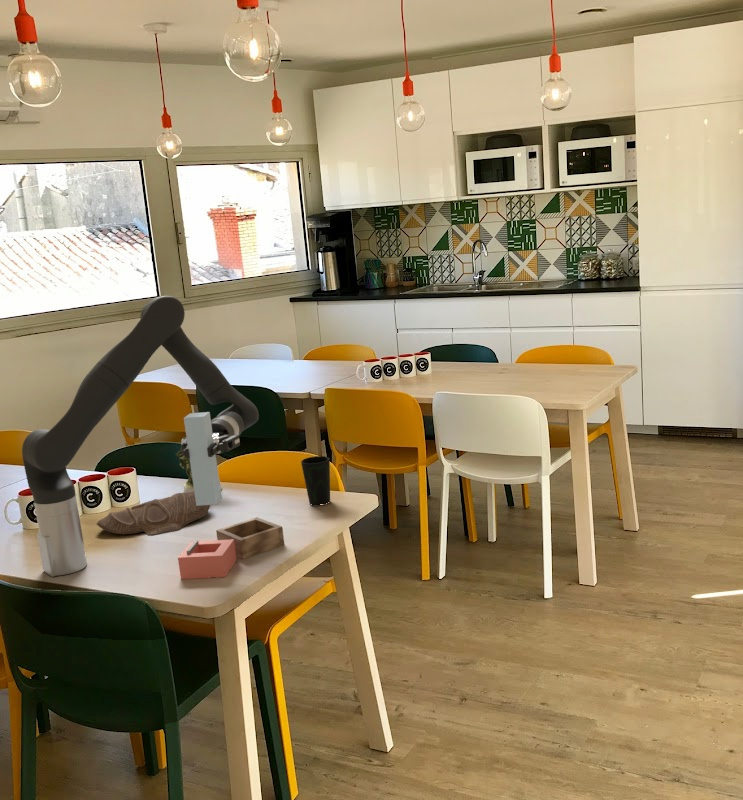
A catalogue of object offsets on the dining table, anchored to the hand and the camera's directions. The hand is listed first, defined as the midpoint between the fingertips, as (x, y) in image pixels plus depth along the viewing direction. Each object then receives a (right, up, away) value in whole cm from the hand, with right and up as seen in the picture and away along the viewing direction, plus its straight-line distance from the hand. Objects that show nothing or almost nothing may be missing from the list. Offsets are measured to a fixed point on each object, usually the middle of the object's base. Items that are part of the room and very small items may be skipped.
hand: (198, 453), depth 199 cm
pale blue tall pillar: (+1, -11, +5) cm, 12 cm away
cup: (+24, -16, +47) cm, 55 cm away
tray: (+9, -23, +18) cm, 31 cm away
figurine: (-12, -15, +70) cm, 72 cm away
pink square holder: (+1, -26, +6) cm, 27 cm away
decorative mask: (-20, -21, +44) cm, 53 cm away
